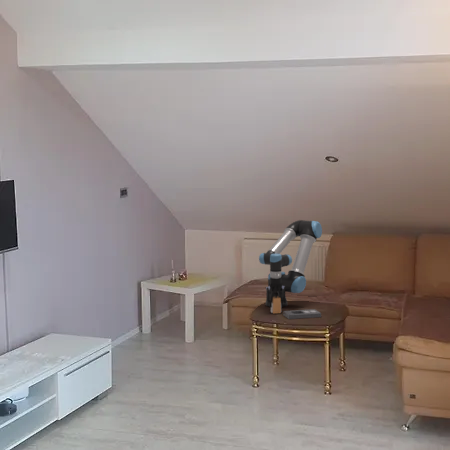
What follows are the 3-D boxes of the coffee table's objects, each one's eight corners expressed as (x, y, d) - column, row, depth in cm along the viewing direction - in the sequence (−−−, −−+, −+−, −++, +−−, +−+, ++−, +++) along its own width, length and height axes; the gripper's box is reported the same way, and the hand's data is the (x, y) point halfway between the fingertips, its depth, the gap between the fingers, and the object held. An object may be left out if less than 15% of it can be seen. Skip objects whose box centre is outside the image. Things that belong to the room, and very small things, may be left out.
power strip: (282, 314, 449) (282, 310, 449) (314, 312, 454) (314, 309, 454) (288, 319, 438) (288, 315, 438) (321, 317, 443) (321, 313, 442)
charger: (271, 311, 457) (271, 296, 456) (278, 311, 458) (278, 296, 457) (273, 313, 452) (273, 298, 451) (280, 313, 453) (280, 297, 452)
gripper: (264, 279, 447) (264, 314, 449) (290, 277, 451) (290, 312, 453) (261, 277, 454) (261, 311, 456) (287, 275, 458) (287, 309, 460)
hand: (275, 312), depth 455 cm, fingers closed on charger, 5 cm apart
